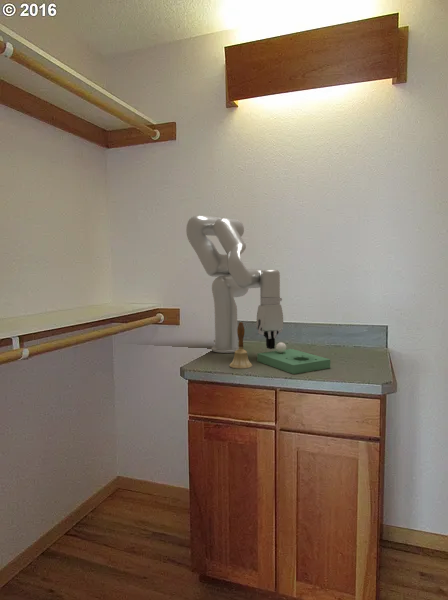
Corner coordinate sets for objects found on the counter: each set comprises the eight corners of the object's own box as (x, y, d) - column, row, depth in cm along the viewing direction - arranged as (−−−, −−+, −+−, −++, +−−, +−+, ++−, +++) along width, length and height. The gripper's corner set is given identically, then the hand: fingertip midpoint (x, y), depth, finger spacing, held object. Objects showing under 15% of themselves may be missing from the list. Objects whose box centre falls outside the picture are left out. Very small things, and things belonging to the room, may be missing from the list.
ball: (273, 352, 164) (273, 342, 164) (282, 351, 166) (282, 341, 166) (279, 354, 161) (279, 343, 161) (288, 353, 163) (288, 342, 162)
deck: (257, 361, 164) (257, 353, 163) (291, 356, 171) (291, 348, 171) (293, 374, 144) (293, 365, 144) (330, 367, 152) (330, 359, 152)
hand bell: (256, 364, 158) (256, 321, 157) (245, 370, 151) (245, 324, 150) (236, 362, 162) (235, 320, 161) (225, 367, 155) (224, 323, 154)
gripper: (280, 299, 175) (280, 344, 176) (248, 301, 168) (249, 348, 169) (291, 301, 168) (291, 347, 170) (259, 303, 161) (259, 352, 163)
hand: (270, 348), depth 170 cm, fingers closed
